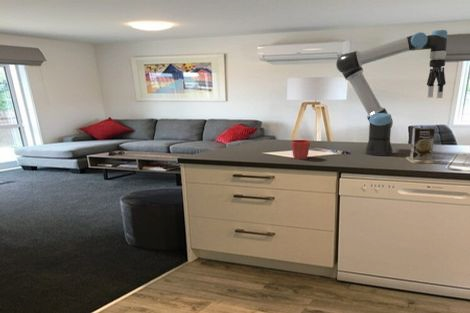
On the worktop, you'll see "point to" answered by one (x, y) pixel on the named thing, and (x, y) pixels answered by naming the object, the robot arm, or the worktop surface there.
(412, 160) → the beige square napkin
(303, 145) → the flower pot
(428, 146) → the coffee box
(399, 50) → the robot arm
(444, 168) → the worktop surface
